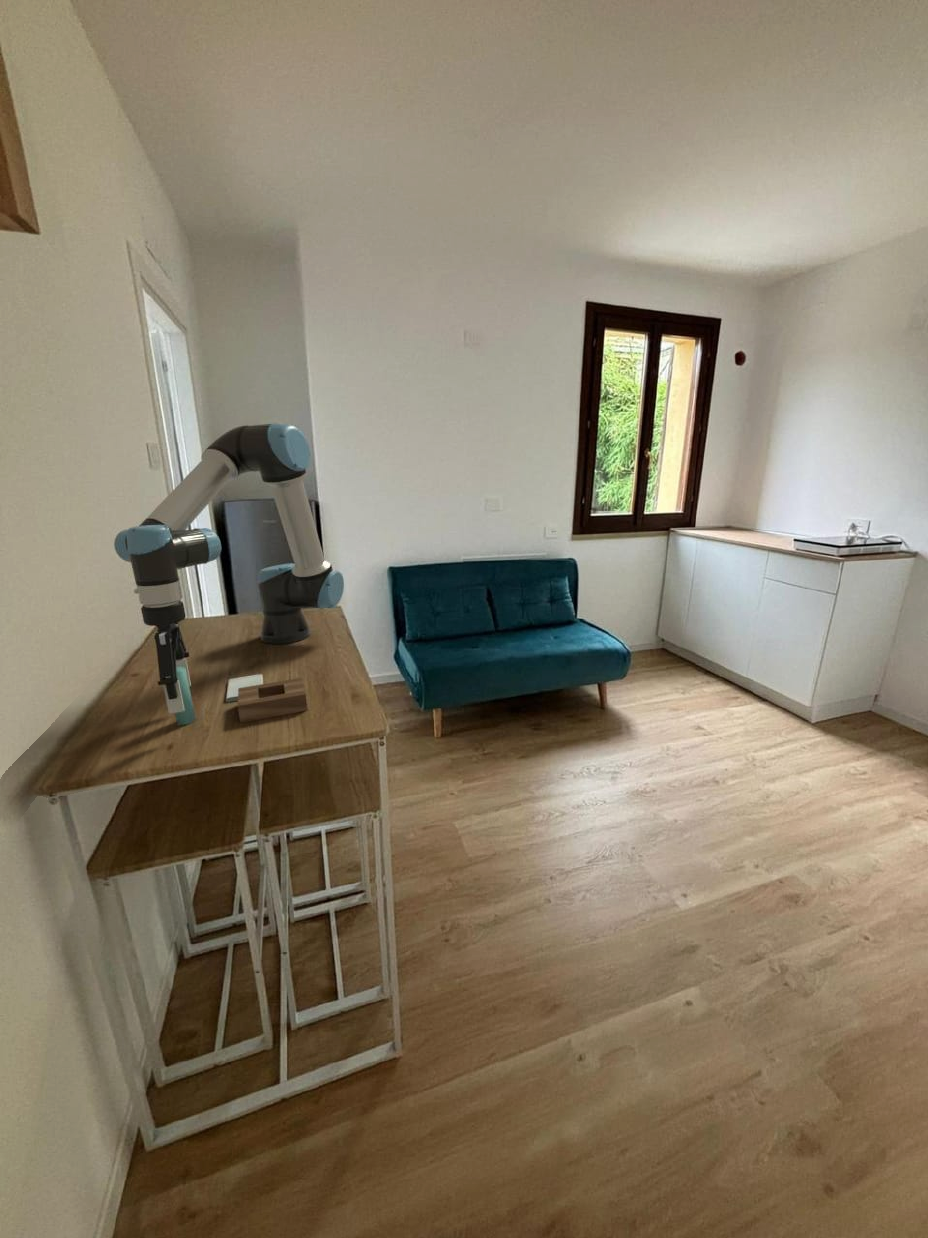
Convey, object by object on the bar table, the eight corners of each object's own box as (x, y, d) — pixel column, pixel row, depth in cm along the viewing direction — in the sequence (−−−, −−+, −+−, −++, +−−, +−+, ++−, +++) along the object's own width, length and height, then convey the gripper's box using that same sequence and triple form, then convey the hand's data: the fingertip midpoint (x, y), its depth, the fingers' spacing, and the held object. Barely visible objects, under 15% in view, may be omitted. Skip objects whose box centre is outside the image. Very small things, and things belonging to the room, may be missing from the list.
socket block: (241, 703, 119) (238, 688, 118) (303, 692, 124) (301, 677, 123) (240, 723, 110) (237, 706, 109) (307, 710, 115) (305, 693, 114)
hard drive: (262, 692, 123) (262, 673, 134) (225, 698, 120) (228, 678, 131) (263, 698, 123) (263, 679, 134) (226, 704, 120) (229, 684, 131)
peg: (178, 719, 113) (167, 668, 109) (196, 716, 114) (186, 666, 110) (176, 726, 109) (164, 674, 106) (194, 723, 111) (184, 671, 107)
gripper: (151, 592, 114) (169, 680, 120) (127, 621, 91) (150, 727, 97) (188, 588, 116) (204, 675, 122) (174, 615, 94) (194, 720, 100)
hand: (180, 698), depth 110 cm, fingers open, 13 cm apart
